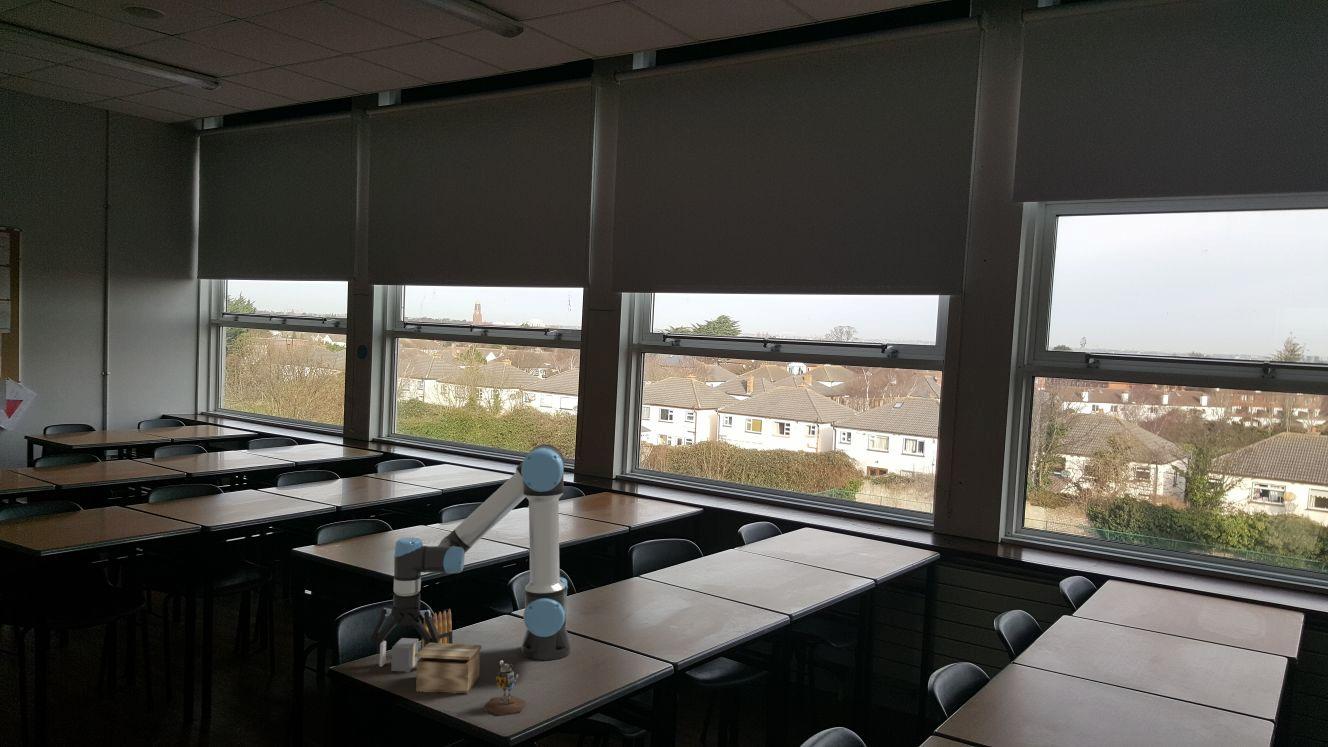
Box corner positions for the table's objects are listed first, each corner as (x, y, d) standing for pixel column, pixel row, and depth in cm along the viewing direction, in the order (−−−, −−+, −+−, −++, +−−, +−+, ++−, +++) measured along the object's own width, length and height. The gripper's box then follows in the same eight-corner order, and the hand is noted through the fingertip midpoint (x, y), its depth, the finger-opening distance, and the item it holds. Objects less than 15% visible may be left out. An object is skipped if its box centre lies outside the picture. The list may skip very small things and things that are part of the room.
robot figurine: (533, 708, 221) (535, 662, 221) (506, 719, 214) (508, 671, 214) (505, 696, 228) (506, 651, 228) (477, 706, 221) (479, 660, 221)
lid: (481, 648, 240) (481, 644, 240) (469, 659, 228) (469, 656, 228) (429, 645, 241) (429, 642, 241) (414, 657, 228) (414, 653, 228)
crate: (478, 677, 241) (479, 649, 240) (467, 694, 229) (468, 664, 228) (430, 674, 241) (430, 646, 241) (415, 691, 229) (416, 661, 229)
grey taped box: (418, 662, 250) (418, 638, 250) (408, 672, 242) (409, 648, 242) (400, 661, 251) (401, 638, 250) (391, 671, 243) (391, 647, 242)
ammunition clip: (424, 656, 256) (425, 616, 255) (420, 654, 257) (421, 615, 256) (452, 647, 264) (453, 608, 264) (448, 645, 265) (449, 607, 265)
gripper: (452, 590, 249) (450, 663, 250) (370, 586, 250) (368, 659, 251) (445, 598, 242) (442, 673, 242) (360, 593, 243) (357, 668, 243)
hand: (404, 666), depth 247 cm, fingers open, 12 cm apart
